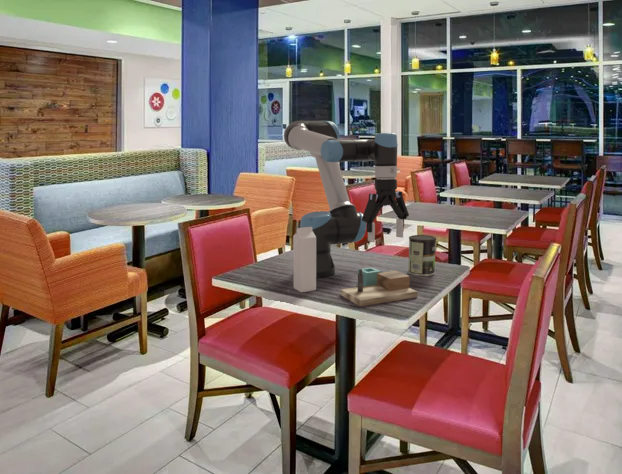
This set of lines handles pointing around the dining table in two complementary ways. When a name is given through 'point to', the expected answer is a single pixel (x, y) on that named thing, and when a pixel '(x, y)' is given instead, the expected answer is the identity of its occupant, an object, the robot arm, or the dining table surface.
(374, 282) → the teal hollow cube
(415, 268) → the coffee can
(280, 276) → the dining table surface
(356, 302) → the base board
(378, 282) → the block
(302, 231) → the milk
